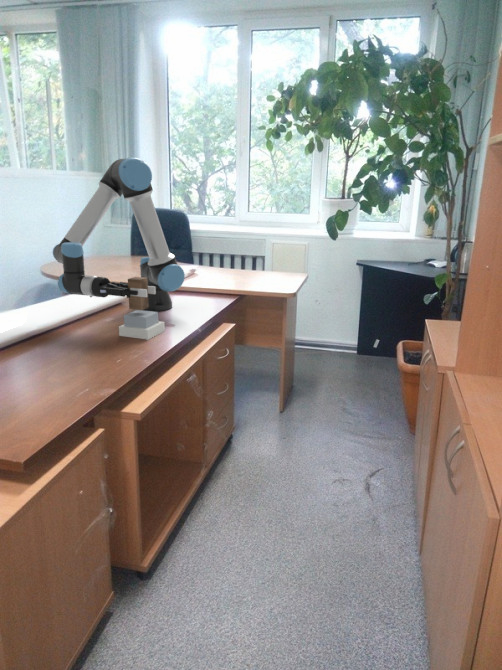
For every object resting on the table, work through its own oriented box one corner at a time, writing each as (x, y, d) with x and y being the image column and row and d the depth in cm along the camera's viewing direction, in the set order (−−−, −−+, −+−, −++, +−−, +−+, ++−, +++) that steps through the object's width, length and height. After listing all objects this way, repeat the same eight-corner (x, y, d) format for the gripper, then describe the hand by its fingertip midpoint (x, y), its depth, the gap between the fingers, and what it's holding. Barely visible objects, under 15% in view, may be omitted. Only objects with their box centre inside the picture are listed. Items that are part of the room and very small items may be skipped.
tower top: (137, 320, 182) (136, 309, 181) (158, 322, 179) (157, 312, 178) (124, 326, 174) (123, 315, 172) (146, 328, 171) (145, 317, 170)
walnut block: (136, 306, 178) (135, 276, 175) (148, 307, 176) (147, 277, 173) (129, 308, 173) (127, 278, 170) (141, 310, 172) (139, 280, 169)
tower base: (137, 328, 185) (136, 318, 184) (164, 332, 181) (164, 321, 180) (119, 337, 174) (118, 326, 173) (148, 340, 170) (147, 330, 169)
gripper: (111, 292, 188) (163, 297, 181) (81, 301, 172) (137, 307, 164) (110, 273, 186) (163, 277, 178) (79, 280, 170) (136, 285, 162)
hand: (150, 291), depth 171 cm, fingers closed on walnut block, 5 cm apart
